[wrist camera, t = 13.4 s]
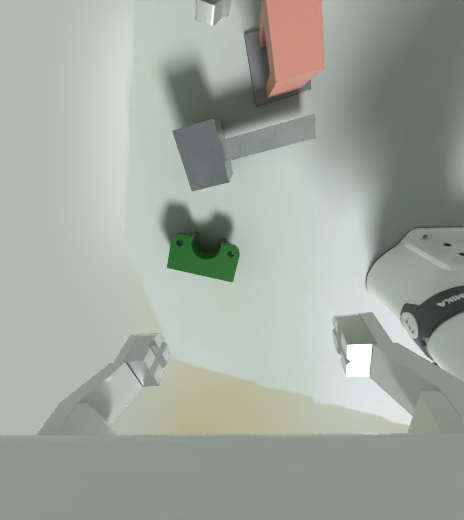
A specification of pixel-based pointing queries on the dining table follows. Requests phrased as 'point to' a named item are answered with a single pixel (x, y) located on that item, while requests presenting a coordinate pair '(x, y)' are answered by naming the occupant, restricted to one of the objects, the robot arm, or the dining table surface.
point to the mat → (262, 70)
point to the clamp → (202, 258)
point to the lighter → (211, 11)
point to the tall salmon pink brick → (291, 42)
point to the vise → (231, 147)
